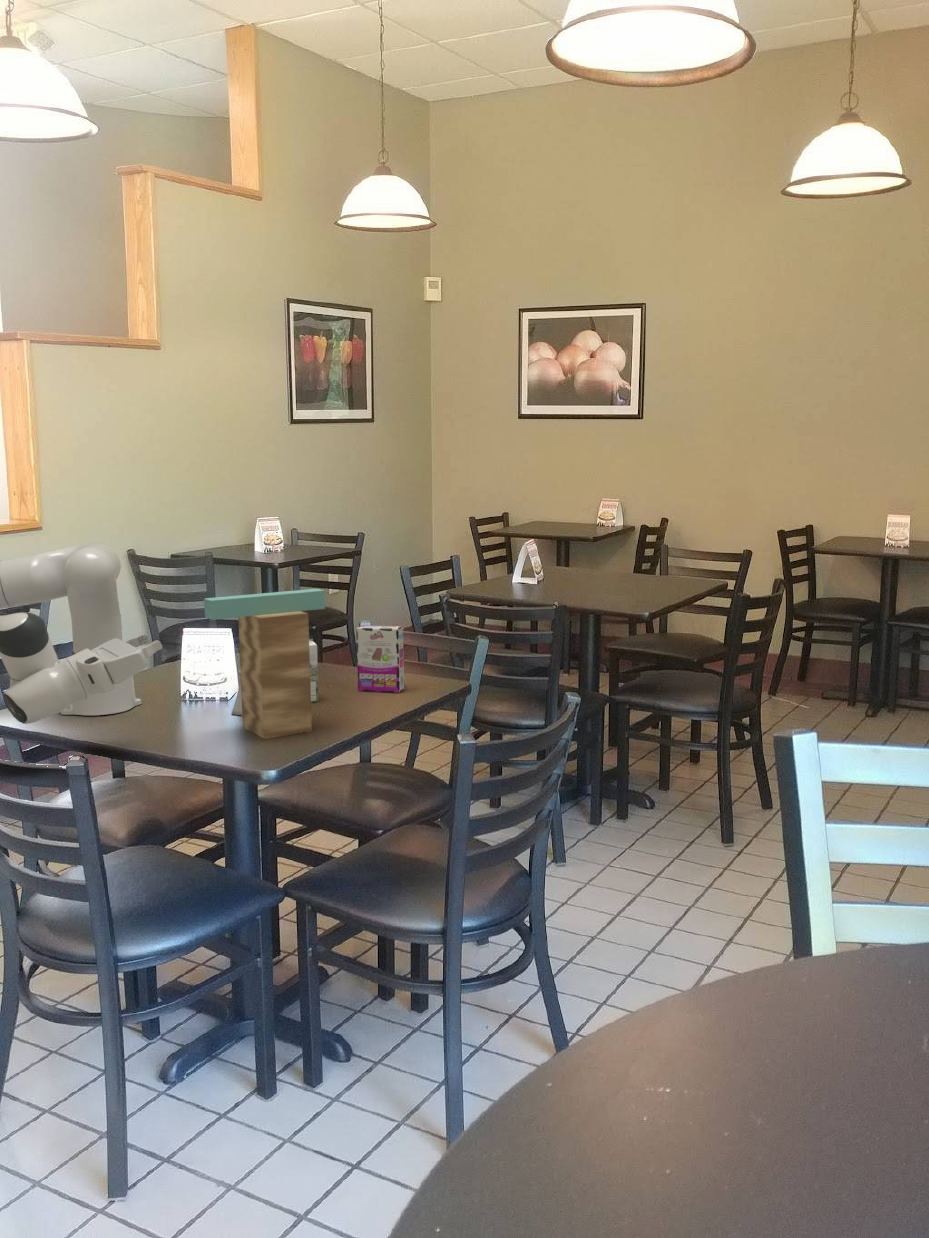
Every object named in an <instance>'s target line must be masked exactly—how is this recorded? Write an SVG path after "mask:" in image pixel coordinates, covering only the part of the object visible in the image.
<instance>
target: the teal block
mask: <svg viewBox="0 0 929 1238" xmlns="http://www.w3.org/2000/svg"><path fill="white" fill-rule="evenodd" d="M203 601H204V602H203V603H204V605H203V606H204V617H205V618H206V619H209V620H212V621H214V620H215V621H216V620H225V619H234V618H238V617H246V616H256V615H266V614H276V613H286V612H296V611H302V612H307V611H315V610H316V611H317V610H325V609H326V593H325V590H324V589H318V588H310V589H298V590H287V591H274V592H263V593H253V594H240V595H239V594H238V595H231V596H230V595H229V596H227V595H226V596H218V597H205V598H203Z"/></svg>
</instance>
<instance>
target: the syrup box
mask: <svg viewBox="0 0 929 1238" xmlns="http://www.w3.org/2000/svg"><path fill="white" fill-rule="evenodd" d="M309 653H310V687H311V703H315V702H319V680H318V678H319V673H318V667H319V665H318V645H317V643H316V642H314V640H313V641H312V640H310V639H309Z"/></svg>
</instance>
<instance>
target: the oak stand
mask: <svg viewBox="0 0 929 1238" xmlns="http://www.w3.org/2000/svg"><path fill="white" fill-rule="evenodd" d="M237 618H238V640H239V643H238V644H239V663H240V664H239V666H240V668H239V670H240V669H241V694H242V715H241V716H242V718H241V719H242V728H244V729H245V730H247V731H248V732H251V733H253V734H255V735H256V736H258V737H260V738H262V739H265V740H267V739H274V738H279V737H287V736H292V735H298V733H299V734H304V733H303V732H305V733H311V732H313V729H312V728H313V725H312V702H311V687H310V653H309V640H310V630H309V629H310V627H309V624H310V623H309V613H308V612H306V611H296V612H286V613H276V614H266V615H256V616H246V617H237Z"/></svg>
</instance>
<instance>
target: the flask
mask: <svg viewBox="0 0 929 1238" xmlns="http://www.w3.org/2000/svg"><path fill="white" fill-rule="evenodd" d="M238 674H239V685H238V691H237V694H236V697H235V700H234V704H233V707H232V710H231V715H237V716H242V694H241V670H240V669H239V670H238Z"/></svg>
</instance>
